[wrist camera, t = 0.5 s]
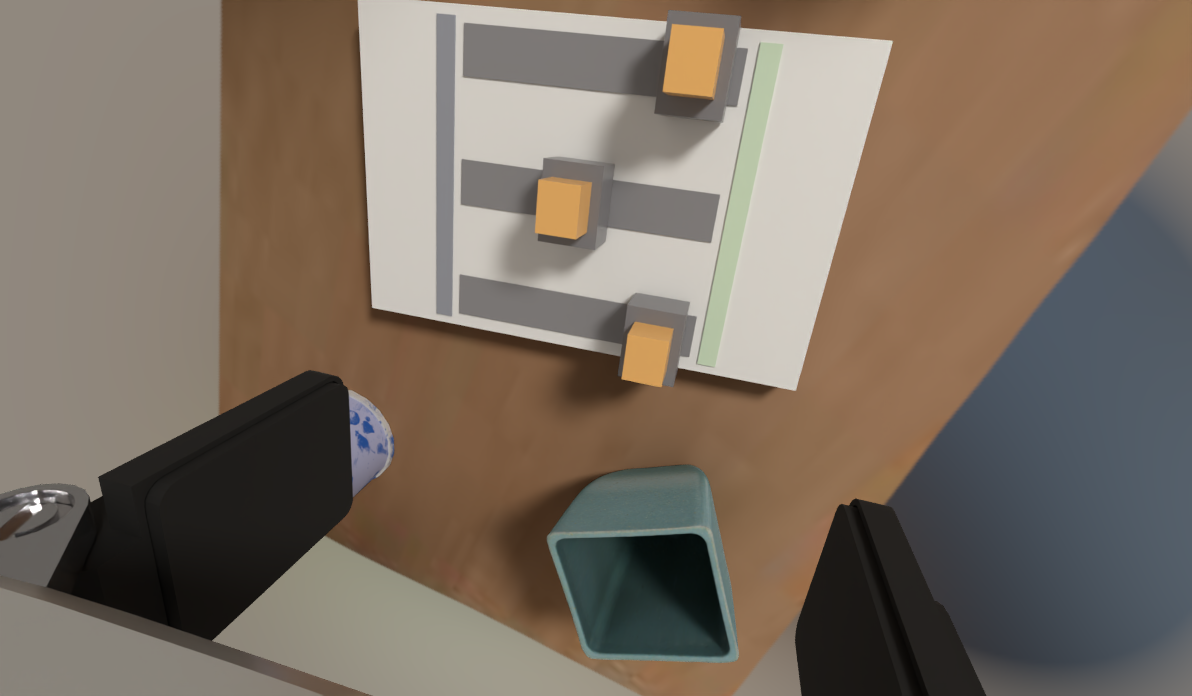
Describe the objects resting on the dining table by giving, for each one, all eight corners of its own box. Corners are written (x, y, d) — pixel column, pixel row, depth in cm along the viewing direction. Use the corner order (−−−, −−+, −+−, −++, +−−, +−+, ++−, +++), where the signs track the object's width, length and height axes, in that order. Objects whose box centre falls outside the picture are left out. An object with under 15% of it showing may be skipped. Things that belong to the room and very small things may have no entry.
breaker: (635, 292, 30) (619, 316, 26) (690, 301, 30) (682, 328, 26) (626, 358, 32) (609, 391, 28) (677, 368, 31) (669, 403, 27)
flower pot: (615, 554, 40) (584, 662, 32) (585, 447, 37) (543, 535, 29) (739, 549, 37) (740, 665, 29) (716, 434, 35) (710, 525, 26)
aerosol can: (289, 439, 43) (-35, 657, 25) (322, 367, 40) (-24, 558, 22) (371, 496, 43) (107, 755, 25) (410, 429, 40) (139, 671, 22)
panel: (380, 4, 30) (356, -6, 28) (882, 47, 26) (893, 40, 24) (390, 299, 37) (371, 308, 35) (792, 376, 32) (795, 391, 30)
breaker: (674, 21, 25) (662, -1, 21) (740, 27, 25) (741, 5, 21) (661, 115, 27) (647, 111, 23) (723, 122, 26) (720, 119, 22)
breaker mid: (558, 156, 29) (529, 159, 25) (614, 163, 28) (594, 168, 24) (552, 233, 30) (523, 248, 26) (605, 241, 30) (584, 258, 26)
